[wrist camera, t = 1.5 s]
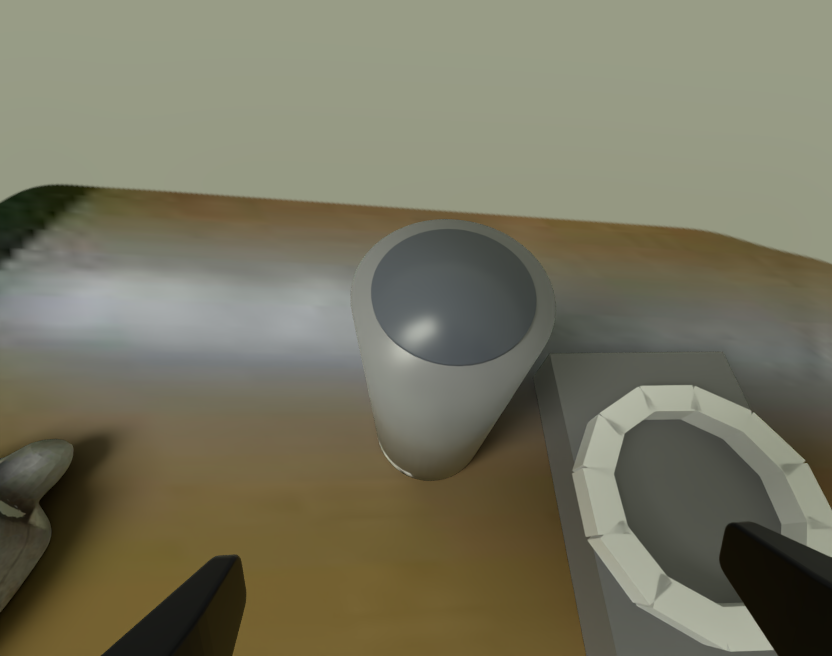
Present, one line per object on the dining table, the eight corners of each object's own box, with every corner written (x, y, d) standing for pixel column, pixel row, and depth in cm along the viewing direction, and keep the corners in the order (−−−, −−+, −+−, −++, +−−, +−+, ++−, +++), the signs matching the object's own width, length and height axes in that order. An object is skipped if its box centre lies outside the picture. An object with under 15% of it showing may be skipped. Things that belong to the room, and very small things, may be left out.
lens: (501, 444, 21) (602, 320, 10) (411, 503, 19) (420, 429, 9) (440, 357, 23) (470, 186, 13) (355, 403, 21) (310, 251, 11)
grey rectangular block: (825, 700, 16) (951, 740, 12) (591, 710, 15) (649, 754, 12) (690, 375, 23) (744, 340, 19) (529, 377, 22) (553, 341, 19)
